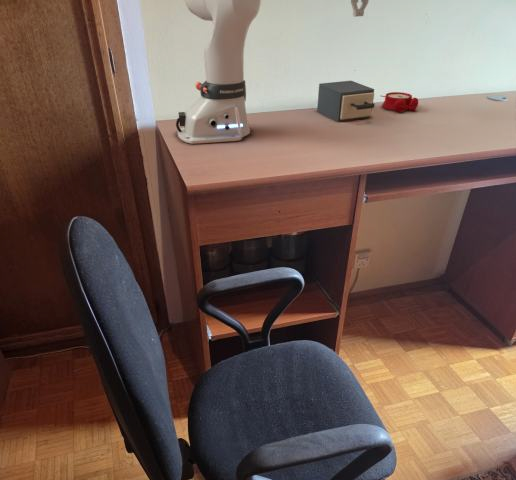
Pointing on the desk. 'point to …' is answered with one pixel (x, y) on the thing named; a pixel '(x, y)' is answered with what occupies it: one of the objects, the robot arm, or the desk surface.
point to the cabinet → (338, 97)
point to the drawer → (357, 105)
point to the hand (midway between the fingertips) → (357, 16)
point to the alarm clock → (400, 102)
